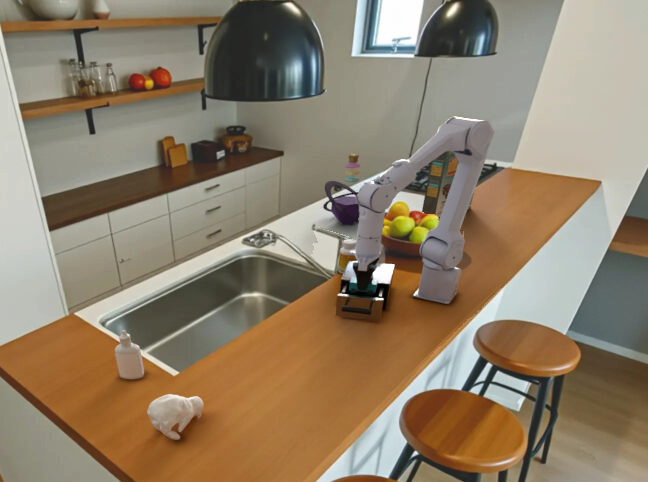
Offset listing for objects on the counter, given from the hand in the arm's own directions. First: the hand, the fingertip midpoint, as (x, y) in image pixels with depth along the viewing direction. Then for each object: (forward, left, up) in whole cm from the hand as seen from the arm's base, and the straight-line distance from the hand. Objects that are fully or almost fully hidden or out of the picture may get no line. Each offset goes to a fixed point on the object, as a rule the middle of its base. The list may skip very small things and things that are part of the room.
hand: (363, 286), depth 123 cm
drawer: (0, +1, -7) cm, 7 cm away
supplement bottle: (+15, -23, -8) cm, 29 cm away
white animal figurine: (+11, +62, -8) cm, 63 cm away
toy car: (0, 0, -1) cm, 1 cm away
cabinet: (+3, -9, -8) cm, 12 cm away
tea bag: (+8, -24, -8) cm, 27 cm away
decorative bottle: (+35, -67, -8) cm, 76 cm away
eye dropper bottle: (+32, +55, -8) cm, 64 cm away
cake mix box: (+6, -95, -8) cm, 96 cm away
